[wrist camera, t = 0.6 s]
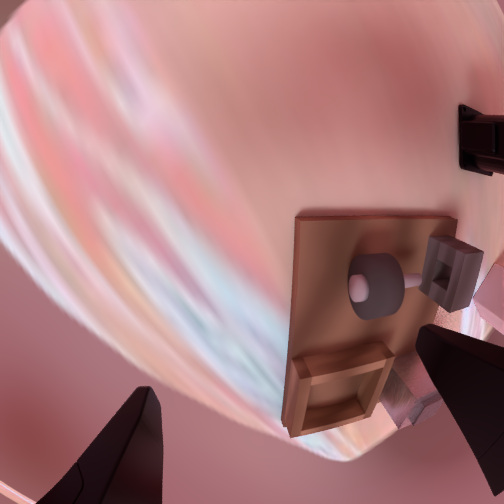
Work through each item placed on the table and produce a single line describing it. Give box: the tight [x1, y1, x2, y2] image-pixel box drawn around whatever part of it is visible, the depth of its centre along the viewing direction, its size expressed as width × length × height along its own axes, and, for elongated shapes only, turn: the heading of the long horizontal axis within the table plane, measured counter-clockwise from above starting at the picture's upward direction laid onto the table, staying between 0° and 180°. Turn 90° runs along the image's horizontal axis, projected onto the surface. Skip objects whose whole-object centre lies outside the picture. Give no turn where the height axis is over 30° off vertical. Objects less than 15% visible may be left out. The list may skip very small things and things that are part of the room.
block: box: [379, 351, 444, 429], centre depth 22 cm, size 5×5×7 cm
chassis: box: [281, 216, 484, 438], centre depth 21 cm, size 16×22×6 cm
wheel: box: [347, 253, 422, 320], centre depth 18 cm, size 6×4×4 cm
